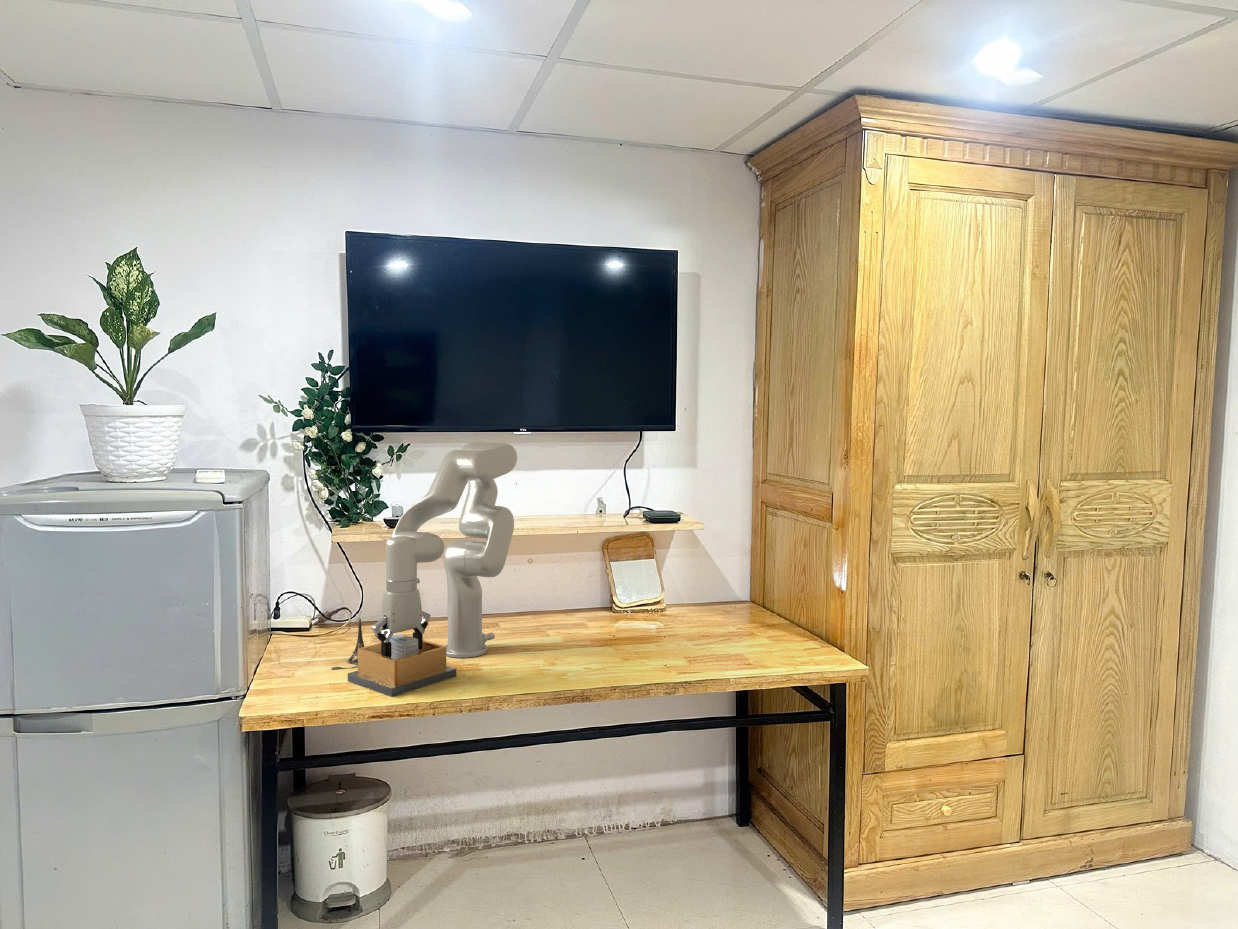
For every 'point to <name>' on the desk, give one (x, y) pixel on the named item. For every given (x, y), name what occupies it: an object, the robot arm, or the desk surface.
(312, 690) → the desk surface
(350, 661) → the eiffel tower figurine
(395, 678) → the brown open box
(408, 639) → the medicine box
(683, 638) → the desk surface
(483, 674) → the desk surface
